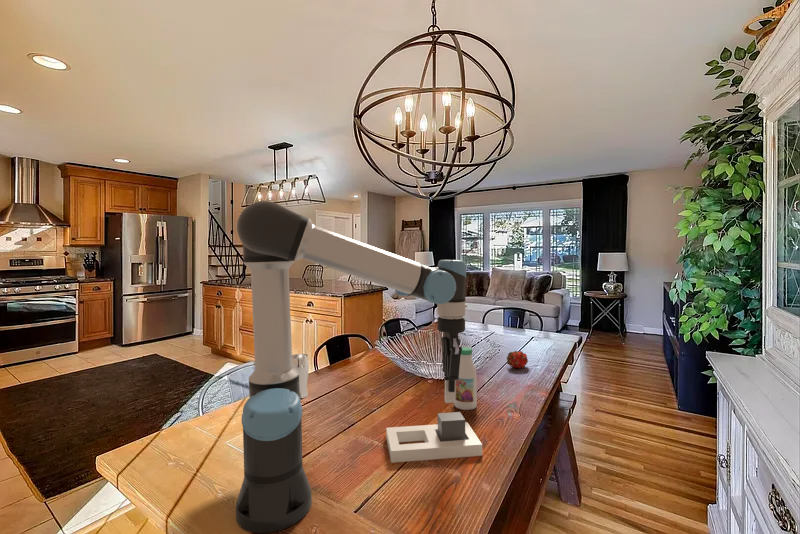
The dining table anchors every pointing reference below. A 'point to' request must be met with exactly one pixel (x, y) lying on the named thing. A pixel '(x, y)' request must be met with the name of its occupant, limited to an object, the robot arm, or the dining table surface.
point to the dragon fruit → (517, 359)
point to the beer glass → (302, 371)
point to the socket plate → (429, 444)
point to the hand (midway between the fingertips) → (449, 401)
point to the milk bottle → (466, 382)
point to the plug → (451, 426)
